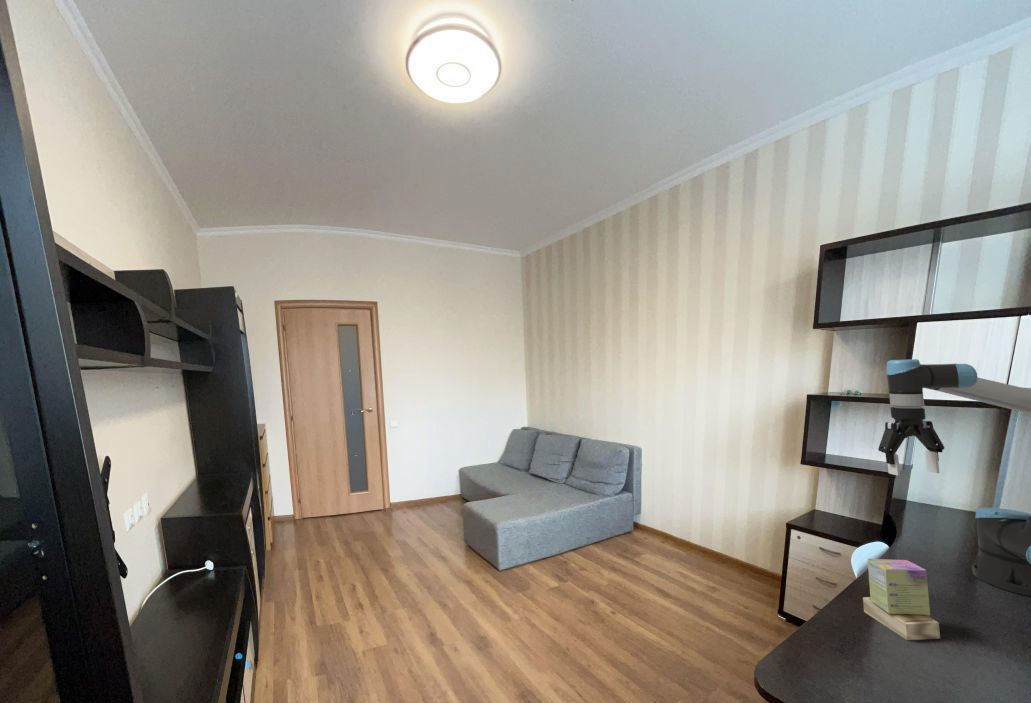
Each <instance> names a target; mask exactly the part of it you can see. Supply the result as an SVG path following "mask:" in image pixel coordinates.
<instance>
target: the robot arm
mask: <svg viewBox="0 0 1031 703" xmlns="http://www.w3.org/2000/svg"><path fill="white" fill-rule="evenodd" d="M885 368H886V373H885V375H886V378H887V385H888V394H889V395H888V396H889V404H890V406H892V407H890V417H891V418H892V419H894V422H887V421H886V422H885V424H884V425H885V426H884V431H883V433H882V437H881V439H880V440H881V441H880V444H879V446H878V448H877V449H878V451H879V452H881V453H884V454H885V463H886V464H887V469H888V470H887V472H888V474H890V475H893V476H899V477H900V476H901V472H900V471H901V470H900V469H901V468H900V462H899V454H897V452H898V450H899V448H901V445H902V443H903V442H904V441H905V439H907V438H908V437H915V438H916V439H918V441H919V442H920V443H921V444H922V445H923V446H924V447H925V449H926V450H924V455H925V464H926V471H927V472H931V473H935V474H940V467H939V466H940V464H939V461H940V457H939V453H943V450H945V449H946V448H945V446H944V444H943V442H942V441H941V438H940V437H939V435H938V433H937V431H936V430H935V428H934V425H933V421H931V420H926V411H925V408H924V406H925V399H924V392H923V391H924V390H923V389H928V390H931V391H937V392H941V393H945V394H949V395H953V396H957V397H960V398H961V397H962V398H965V399H970V400H973V401H976V402H980V403H985V404H989V405H992V406H997V407H1001V408H1004V409H1005V408H1006V409H1009V410H1013V411H1017V412H1022V413H1024V414H1029V415H1031V389H1030V388H1026V387H1021V386H1016V385H1012V384H1009V383H1008V384H1007V383H1003V382H999V381H994V380H990V379H985V378H981V377H978V373H977V370H976V369H975V367H974V366H973V365H970V364H968V363H943V364H942V363H938V364H937V363H935V364H934V363H931V364H930V363H929V364H926V363H925V364H921V362H920V360H919V359H916V358H915V359H913V358H912V359H891V360H888V361H887V362H886V366H885ZM974 519H975V520H976V521H975V522H976V524H975V525H976V531H977V532H976V533H977V543H978V544H977V545H978V554H977V556H976V557H975V560H974V561H973V564H972V567H971V569H972V574H973V576H975V578H977V579H978V580H980V581H982V582H984V583H986V584H989V585H991V586H993V587H996V588H999V589H1002V590H1004V591H1008V592H1011V593H1015V594H1019V595H1024V596H1028V597H1031V513H1030V512H1025V511H1019V510H1014V509H1007V508H999V507H989V506H988V507H986V506H983V507H982V506H981V507H978V508H976V510H975V518H974Z"/></svg>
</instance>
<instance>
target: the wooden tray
mask: <svg viewBox="0 0 1031 703" xmlns="http://www.w3.org/2000/svg"><path fill="white" fill-rule="evenodd" d="M862 604H863V613H865V614H867V615H868V616H870V617H871V618H873V619H874V620H876V621H877V622H879V623H880V624H882V625H883V626H885V627H886V628H888V629H889V630H891V631H893V632H894V633H895V634H897V635H899V636H900V637H902V638H903V639H904V640H906V641H920V640H921V641H922V640H934V639H935V640H938V639H941V634H940V622H938V621H937V620H935V619H933V618H931V617H930V616H929V615H916V614H889V613H887V612H886V611H885V610H883V609H882V608H880V607H879V606H877V605H876V604H875V603H873V602H872V601H871V597H870V596H866V597H864V596H863V597H862Z"/></svg>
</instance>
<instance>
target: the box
mask: <svg viewBox="0 0 1031 703" xmlns="http://www.w3.org/2000/svg"><path fill="white" fill-rule="evenodd" d="M867 570H868V581H869V582H868V583H869V594H870V595H869V597H871V601H872V602H873V603H875V604H876V605H877V606H879V607H880V608H882V609H883V610H885V611H886V612H887V613H889V614H916V615H927V616H931V610H930V609H931V607H930V597H929V596H930V595H929V587H928V577H927V576H928V575H927V569H925V568H923V567H921V566H919V565H918V564H916V563H914V562H912V561H909V560H908V559H888V558H887V559H885V558H884V559H883V558H882V559H881V558H867Z"/></svg>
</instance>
